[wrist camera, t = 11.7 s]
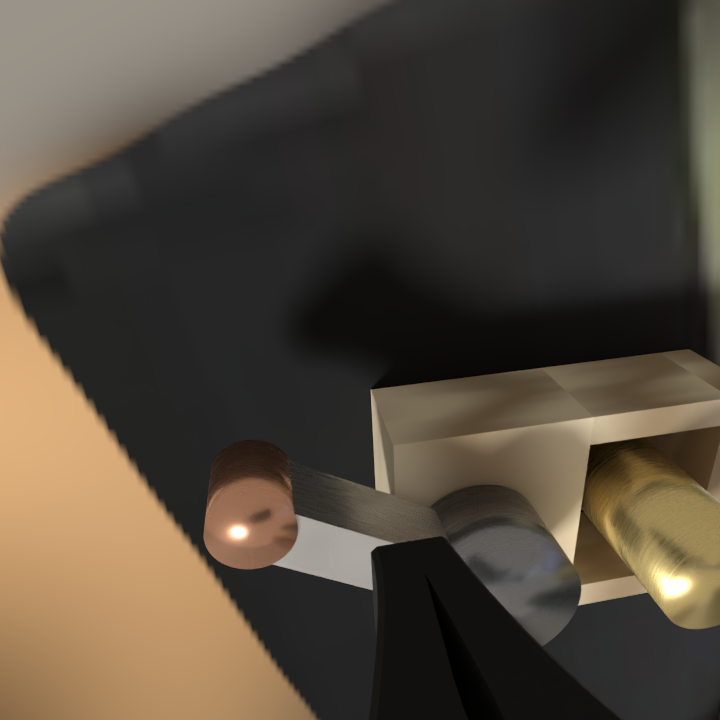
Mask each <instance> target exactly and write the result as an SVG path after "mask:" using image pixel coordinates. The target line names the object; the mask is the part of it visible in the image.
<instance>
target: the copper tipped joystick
mask: <svg viewBox="0 0 720 720" xmlns="http://www.w3.org/2000/svg"><path fill="white" fill-rule="evenodd" d="M438 536H443V537H444V538H445V539H447V540H448V541H449V543H450V544H451V545H452V547H453V548H454V549H455V550H456V552H457V553H458V554H459V555H460V557H461V558H462V559H463V560H464V562H465V563H466V564H467V565H468V566H469V568H470V569H471V570H472V571H473V572H474V574H475V575H476V576H477V577H478V578H479V579H480V580H481V582H482V583H483V584H484V585H485V586H486V587H487V589H488V590H489V591H490V592H491V593H492V594H493V595H494V596H495V598H496V599H497V600H498V601H499V602H500V603H501V604H502V605H503V606H504V607H505V608H506V610H507V611H508V612H509V613H510V614H511V615H512V616H513V617H514V618H515V619H516V620H517V621H518V622H519V623H520V624H521V625H522V626H523V627H524V628H525V630H526V631H527V632H528V633H529V634H530V635H531V636H532V637H533V638H534V639H535V640H536V641H537V642H538V643H539V644H540V645H541V646H543V645H545V644H546V643H548V642H549V641H550V640H552V639H553V638H554V637H555V636H556V635H557V634H558V633H560V632H561V631H562V629H563V628H564V627H565V626H566V625H567V624H568V622H569V621H570V620H571V618H572V617H573V615H574V613H575V611H576V609H577V607H578V604H579V601H580V597H581V580H580V577H579V574H578V572H577V570H576V568H575V567H574V565H573V564H572V562H571V561H570V559H569V558H568V556H567V555H566V553H565V552H564V551H563V549H562V548H561V546H560V545H559V543H558V542H557V540H556V539H555V537H554V536H553V535H552V533H551V532H550V530H549V529H548V527H547V526H546V524H545V523H544V521H543V520H542V519H541V517H540V516H539V514H538V513H537V511H536V510H535V508H534V507H533V505H532V504H531V503H530V502H529V500H528V499H527V498H526V497H524V496H523V495H522V494H520V493H519V492H517V491H515V490H513V489H511V488H507V487H504V486H498V485H477V486H472V487H467V488H464V489H461V490H458V491H455V492H453V493H451V494H449V495H447V496H445V497H443V498H441V499H440V500H438V501H437V502H436V503H434V504H433V505H432V506H431V507H427V506H424V505H421V504H418V503H415V502H412V501H409V500H406V499H403V498H400V497H397V496H394V495H391V494H388V493H385V492H382V491H378V490H375V489H372V488H369V487H366V486H363V485H360V484H357V483H354V482H351V481H348V480H345V479H342V478H339V477H336V476H333V475H329V474H326V473H323V472H320V471H317V470H314V469H311V468H308V467H305V466H302V465H299V464H296V463H293V462H290V460H289V458H288V456H287V455H286V454H285V453H284V452H283V451H282V450H281V449H280V448H279V447H277V446H276V445H274V444H272V443H269V442H266V441H261V440H245V441H240V442H237V443H234V444H232V445H230V446H228V447H227V448H225V449H224V450H223V451H222V452H221V453H220V454H219V455H218V456H217V457H216V459H215V460H214V462H213V465H212V468H211V474H210V483H209V492H208V501H207V509H206V518H205V527H204V542H205V545H206V547H207V549H208V551H209V552H210V554H211V555H212V556H213V557H214V558H215V559H217V560H218V561H220V562H221V563H223V564H225V565H227V566H230V567H234V568H239V569H257V568H262V567H265V566H269V565H271V564H273V565H277V566H281V567H285V568H289V569H293V570H297V571H301V572H304V573H308V574H312V575H316V576H320V577H324V578H328V579H331V580H335V581H339V582H343V583H347V584H351V585H355V586H359V587H362V588H366V589H370V590H373V583H372V566H371V552H372V551H373V550H374V549H375V548H376V547H377V546H383V545H389V544H395V543H401V542H407V541H414V540H420V539H426V538H432V537H438Z"/></svg>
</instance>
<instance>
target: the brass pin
mask: <svg viewBox="0 0 720 720" xmlns="http://www.w3.org/2000/svg"><path fill="white" fill-rule="evenodd" d="M581 509H582V510H583V511H584V513H585V514H586V515H587V516H588V518H589V519H590V520H591V521H592V523H593V524H594V525H595V526H596V528H597V529H598V530H599V531H600V533H601V534H602V535H603V536H604V538H605V539H606V540H607V541H608V543H609V544H610V545H611V546H612V548H613V549H614V550H615V551H616V553H617V554H618V555H619V556H620V558H621V559H622V560H623V561H624V563H625V564H626V565H627V566H628V568H629V569H630V570H631V571H632V573H633V574H634V575H635V577H636V578H637V579H638V580H639V582H640V583H641V584H642V585H643V587H644V588H645V589H646V590H647V592H648V593H649V594H650V595H651V597H652V598H653V599H654V600H655V602H656V603H657V604H658V605H659V607H660V608H661V609H662V610H663V612H664V613H665V614H666V615H667V617H668V618H669V619H670V620H671V621H672V622H673V623H675V624H676V625H678V626H681V627H684V628H689V629H703V628H709V627H713V626H717V625H720V502H719V501H718V500H717V499H716V498H714V497H713V496H712V495H711V494H710V493H709V492H708V491H706V490H705V489H704V488H703V487H702V486H701V485H699V484H698V483H697V482H696V481H695V480H694V479H693V478H691V477H690V476H689V475H688V474H687V473H686V472H684V471H683V470H682V469H681V468H680V467H679V466H678V465H676V464H675V463H674V462H673V461H672V460H671V459H669V458H668V457H667V456H666V455H665V454H664V453H663V452H661V451H660V450H659V449H658V448H657V447H656V446H654V445H653V444H652V443H651V442H650V441H649V440H648V439H646V438H645V437H641V438H634V439H628V440H621V441H614V442H607V443H601V444H594V445H590V450H589V457H588V464H587V471H586V478H585V485H584V492H583V499H582V505H581Z"/></svg>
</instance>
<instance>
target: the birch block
mask: <svg viewBox="0 0 720 720" xmlns="http://www.w3.org/2000/svg"><path fill="white" fill-rule="evenodd" d="M371 405H372V425H373V445H374V465H375V485H376V490H378V491H382V492H385V493H388V494H391V495H394V496H397V497H400V498H403V499H406V500H409V501H412V502H415V503H418V504H421V505H424V506H427V507H431V506H432V505H433V504H434V503H436V502H437V501H438V500H440V499H441V498H443V497H445V496H447V495H449V494H451V493H453V492H455V491H458V490H461V489H464V488H467V487H472V486H477V485H498V486H504V487H507V488H511V489H513V490H515V491H517V492H519V493H520V494H522V495H523V496H524V497H526V498H527V499H528V500H529V502H530V503H531V504H532V505H533V507H534V508H535V510H536V511H537V513H538V514H539V516H540V517H541V519H542V520H543V521H544V523H545V524H546V526H547V527H548V529H549V530H550V532H551V533H552V535H553V536H554V537H555V539H556V540H557V542H558V543H559V545H560V546H561V548H562V549H563V551H564V552H565V553H566V555H567V556H568V558H569V559H570V561H571V562H572V564H573V565H574V567H575V568H576V570H577V572H578V574H579V577H580V580H581V597H580V601H579V604H578V605H583V604H588V603H593V602H599V601H604V600H609V599H615V598H620V597H625V596H631V595H636V594H641V593H647V590H646V589H645V588H644V587H643V585H642V584H641V583H640V582H639V580H638V579H637V578H636V577H635V575H634V574H633V573H632V571H631V570H630V569H629V568H628V566H627V565H626V564H625V563H624V561H623V560H622V559H621V558H620V556H619V555H618V554H617V553H616V551H615V550H614V549H613V548H612V546H611V545H610V544H609V543H608V541H607V540H606V539H605V538H604V536H603V535H602V534H601V533H600V531H599V530H598V529H597V528H596V526H595V525H594V524H593V523H592V521H591V520H590V519H589V518H588V516H587V515H586V514H585V513H584V512H581V505H582V499H583V492H584V485H585V478H586V471H587V464H588V457H589V450H590V445H594V444H601V443H607V442H614V441H621V440H628V439H634V438H641V437H645V438H646V439H648V440H649V441H650V442H651V443H652V444H653V445H654V446H656V447H657V448H658V449H659V450H660V451H661V452H663V453H664V454H665V455H666V456H667V457H668V458H669V459H671V460H672V461H673V462H674V463H675V464H676V465H678V466H679V467H680V468H681V469H682V470H683V471H684V472H686V473H687V474H688V475H689V476H690V477H691V478H693V479H694V480H695V481H696V482H697V483H698V484H699V485H701V486H702V487H703V488H704V489H705V490H706V491H708V492H709V493H710V494H711V495H712V496H713V497H714V498H716V499H717V500H718V501H719V502H720V367H719V366H718V365H716V364H714V363H712V362H711V361H709V360H707V359H705V358H704V357H702V356H700V355H698V354H697V353H695V352H693V351H691V350H690V349H686V350H678V351H670V352H662V353H654V354H646V355H639V356H631V357H623V358H615V359H607V360H599V361H592V362H584V363H576V364H568V365H560V366H552V367H545V368H537V369H529V370H521V371H513V372H505V373H498V374H490V375H482V376H474V377H466V378H458V379H451V380H443V381H435V382H427V383H419V384H411V385H403V386H396V387H388V388H380V389H372V390H371Z"/></svg>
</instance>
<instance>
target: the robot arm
mask: <svg viewBox="0 0 720 720" xmlns="http://www.w3.org/2000/svg"><path fill="white" fill-rule="evenodd" d="M371 566H372V583H373V600H374V618H375V627H376V633H377V644H376V660H375V670H374V679H373V689H372V698H371V707H370V715H369V720H623V719H622V718H620V717H619V716H618V715H617V714H616V713H614V712H613V711H612V710H611V709H610V708H609V707H607V706H606V705H605V704H604V703H603V702H601V701H600V700H599V699H598V698H597V697H596V696H595V695H593V694H592V693H591V692H590V691H589V690H588V689H587V688H586V687H585V686H583V685H582V684H581V683H580V682H579V681H578V680H577V679H576V678H575V677H574V676H572V675H571V674H570V673H569V672H568V671H567V670H566V669H565V668H564V667H563V666H562V665H561V664H560V663H559V662H558V661H557V660H556V659H555V658H554V657H552V656H551V655H550V654H549V653H548V652H547V651H546V650H545V649H544V648H543V647H542V646H541V645H540V644H539V643H538V642H537V641H536V640H535V639H534V638H533V637H532V636H531V635H530V634H529V633H528V632H527V631H526V630H525V628H524V627H523V626H522V625H521V624H520V623H519V622H518V621H517V620H516V619H515V618H514V617H513V616H512V615H511V614H510V613H509V612H508V611H507V610H506V608H505V607H504V606H503V605H502V604H501V603H500V602H499V601H498V600H497V599H496V598H495V596H494V595H493V594H492V593H491V592H490V591H489V590H488V589H487V587H486V586H485V585H484V584H483V583H482V582H481V580H480V579H479V578H478V577H477V576H476V575H475V574H474V572H473V571H472V570H471V569H470V568H469V566H468V565H467V564H466V563H465V562H464V560H463V559H462V558H461V557H460V555H459V554H458V553H457V552H456V550H455V549H454V548H453V547H452V545H451V544H450V543H449V541H448V540H447V539H445V538H444V537H443V536H438V537H432V538H426V539H420V540H414V541H407V542H401V543H395V544H389V545H383V546H377V547H376V548H375V549H374V550H373V551H372V552H371Z"/></svg>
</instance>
